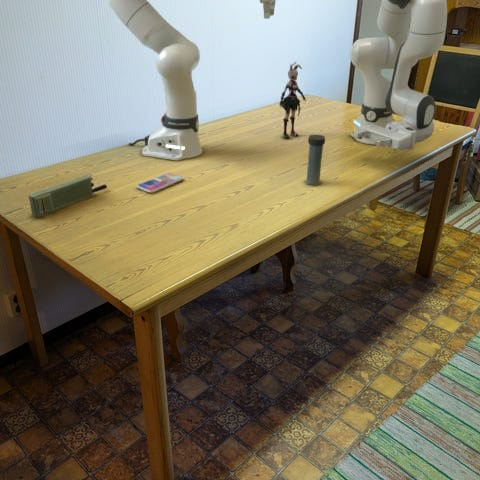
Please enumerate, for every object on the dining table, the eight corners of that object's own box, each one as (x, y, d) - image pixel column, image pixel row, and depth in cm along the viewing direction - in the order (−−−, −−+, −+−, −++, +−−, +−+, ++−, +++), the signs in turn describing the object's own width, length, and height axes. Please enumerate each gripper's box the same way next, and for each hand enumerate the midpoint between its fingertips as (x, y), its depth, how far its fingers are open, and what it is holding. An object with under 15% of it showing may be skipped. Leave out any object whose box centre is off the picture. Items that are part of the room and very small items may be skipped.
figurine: (282, 141, 203) (286, 63, 188) (271, 138, 207) (274, 61, 192) (306, 134, 212) (311, 59, 197) (295, 130, 215) (300, 57, 201)
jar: (315, 179, 169) (319, 135, 162) (321, 184, 166) (326, 139, 158) (304, 181, 168) (307, 137, 161) (309, 186, 165) (313, 141, 157)
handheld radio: (30, 215, 144) (102, 188, 161) (37, 219, 142) (109, 191, 159) (26, 193, 140) (100, 168, 157) (33, 197, 138) (107, 171, 155)
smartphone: (184, 177, 167) (150, 191, 157) (184, 180, 167) (151, 194, 157) (168, 171, 171) (134, 185, 161) (168, 174, 171) (135, 188, 161)
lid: (320, 139, 163) (320, 134, 162) (327, 144, 159) (328, 138, 158) (305, 141, 162) (306, 135, 161) (312, 146, 157) (313, 140, 157)
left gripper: (265, -33, 165) (264, 13, 172) (255, -32, 148) (254, 20, 155) (284, -33, 164) (282, 14, 171) (276, -31, 147) (274, 20, 154)
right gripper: (375, 118, 184) (347, 123, 177) (420, 132, 168) (390, 137, 162) (373, 135, 187) (345, 141, 180) (416, 150, 171) (387, 156, 165)
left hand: (268, 16), depth 163 cm, fingers open, 8 cm apart
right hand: (367, 139), depth 171 cm, fingers open, 8 cm apart
